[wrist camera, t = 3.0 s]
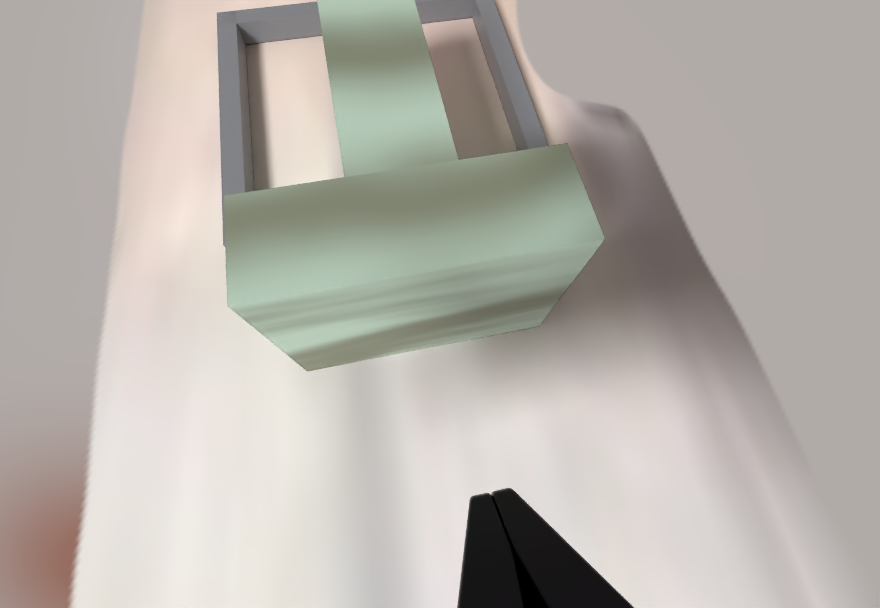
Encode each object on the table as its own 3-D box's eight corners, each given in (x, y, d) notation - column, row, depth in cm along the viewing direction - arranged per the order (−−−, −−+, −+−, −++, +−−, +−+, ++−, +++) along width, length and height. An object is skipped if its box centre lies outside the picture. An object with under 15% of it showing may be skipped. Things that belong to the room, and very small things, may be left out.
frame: (557, 205, 25) (564, 189, 24) (235, 258, 23) (223, 244, 22) (484, 4, 31) (487, -18, 30) (227, 34, 29) (216, 12, 28)
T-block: (538, 326, 22) (605, 238, 14) (307, 371, 21) (227, 305, 13) (476, 122, 27) (497, -33, 19) (285, 149, 26) (218, -3, 18)
